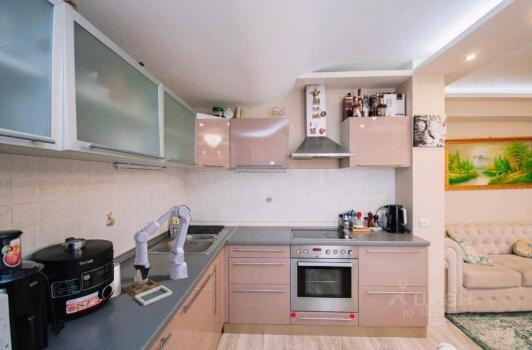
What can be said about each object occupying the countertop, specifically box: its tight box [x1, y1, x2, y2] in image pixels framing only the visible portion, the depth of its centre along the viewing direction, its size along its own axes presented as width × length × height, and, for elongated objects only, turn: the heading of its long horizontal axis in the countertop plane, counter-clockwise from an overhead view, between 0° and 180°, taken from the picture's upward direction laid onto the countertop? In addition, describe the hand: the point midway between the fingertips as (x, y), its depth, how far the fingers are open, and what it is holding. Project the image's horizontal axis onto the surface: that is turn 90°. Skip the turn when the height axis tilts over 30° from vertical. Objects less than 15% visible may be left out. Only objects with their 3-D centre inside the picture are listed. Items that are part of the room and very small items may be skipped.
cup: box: [110, 262, 122, 299], centre depth 125 cm, size 8×8×16 cm
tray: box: [134, 285, 173, 308], centre depth 122 cm, size 14×11×2 cm
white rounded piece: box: [133, 269, 149, 284], centre depth 130 cm, size 7×5×7 cm
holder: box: [123, 278, 160, 299], centre depth 130 cm, size 14×14×3 cm
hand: (142, 277), depth 130 cm, fingers closed on white rounded piece, 5 cm apart
